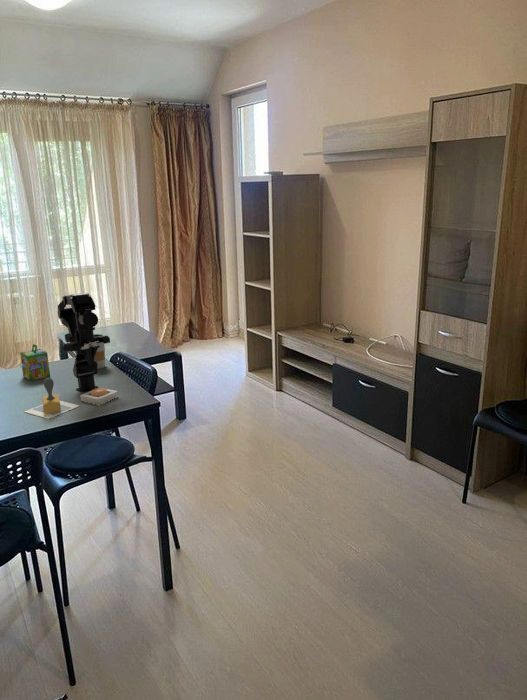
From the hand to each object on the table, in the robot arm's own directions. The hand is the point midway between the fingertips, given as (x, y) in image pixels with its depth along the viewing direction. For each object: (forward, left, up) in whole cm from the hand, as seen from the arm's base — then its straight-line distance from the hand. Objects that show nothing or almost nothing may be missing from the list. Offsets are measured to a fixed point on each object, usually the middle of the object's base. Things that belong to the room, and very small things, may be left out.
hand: (90, 364), depth 212 cm
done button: (-5, +2, -12) cm, 13 cm away
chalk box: (+43, -5, -13) cm, 45 cm away
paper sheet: (+3, +18, -13) cm, 22 cm away
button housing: (-5, +2, -13) cm, 14 cm away
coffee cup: (+29, -28, -13) cm, 43 cm away
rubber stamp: (+3, +17, -13) cm, 22 cm away
